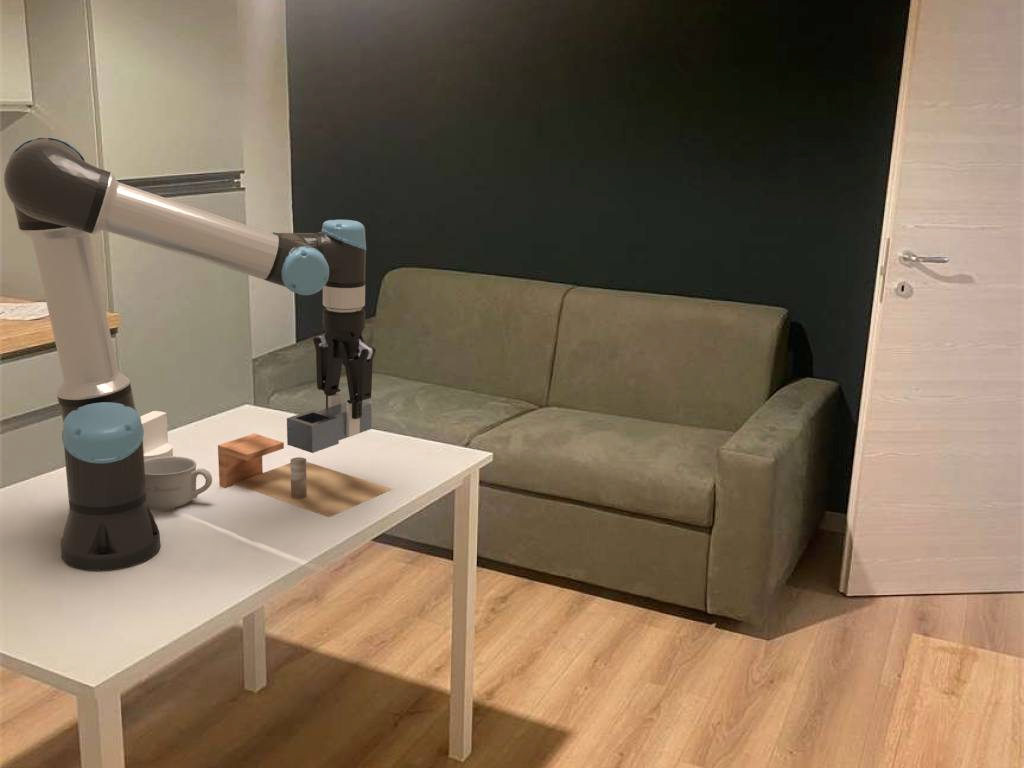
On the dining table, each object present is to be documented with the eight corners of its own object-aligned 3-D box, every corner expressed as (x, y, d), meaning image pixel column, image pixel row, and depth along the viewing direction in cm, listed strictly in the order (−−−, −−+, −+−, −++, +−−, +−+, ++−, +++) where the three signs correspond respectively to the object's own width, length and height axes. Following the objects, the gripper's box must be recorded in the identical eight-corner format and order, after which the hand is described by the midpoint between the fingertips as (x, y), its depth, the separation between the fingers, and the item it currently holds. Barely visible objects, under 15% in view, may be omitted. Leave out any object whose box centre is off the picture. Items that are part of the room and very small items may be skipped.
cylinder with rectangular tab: (154, 489, 197) (150, 428, 193) (114, 481, 199) (110, 421, 196) (183, 473, 205) (180, 414, 202) (144, 466, 208) (141, 408, 204)
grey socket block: (312, 453, 185) (312, 426, 183) (287, 444, 188) (286, 418, 187) (376, 430, 197) (376, 405, 196) (351, 422, 201) (351, 397, 199)
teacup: (122, 510, 187) (119, 468, 185) (162, 490, 197) (159, 449, 194) (188, 524, 182) (186, 481, 180) (225, 502, 192) (223, 461, 190)
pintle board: (325, 524, 185) (324, 480, 182) (219, 486, 199) (217, 445, 197) (392, 494, 199) (393, 453, 197) (289, 460, 214) (288, 422, 211)
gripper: (393, 312, 187) (391, 437, 193) (325, 297, 196) (325, 417, 203) (364, 318, 181) (363, 447, 187) (295, 303, 190) (296, 425, 197)
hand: (343, 431), depth 195 cm, fingers closed on grey socket block, 4 cm apart
